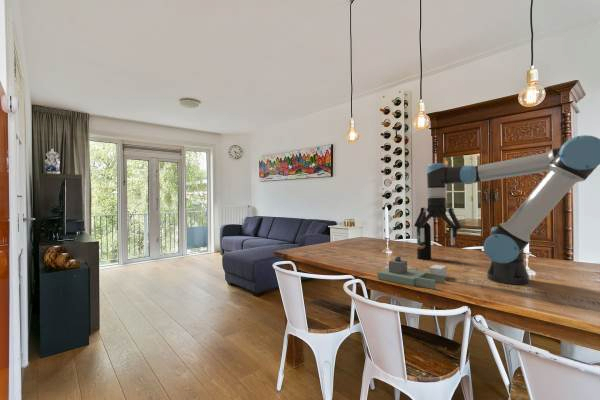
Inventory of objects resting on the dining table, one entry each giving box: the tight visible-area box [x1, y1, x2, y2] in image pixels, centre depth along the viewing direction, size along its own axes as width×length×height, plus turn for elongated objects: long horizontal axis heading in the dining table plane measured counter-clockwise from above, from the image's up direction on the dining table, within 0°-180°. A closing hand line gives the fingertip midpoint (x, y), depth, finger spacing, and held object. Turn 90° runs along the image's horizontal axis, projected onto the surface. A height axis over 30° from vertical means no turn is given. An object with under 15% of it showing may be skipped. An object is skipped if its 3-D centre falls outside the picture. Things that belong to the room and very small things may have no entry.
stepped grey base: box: [377, 255, 446, 290], centre depth 134 cm, size 25×14×10 cm, turn 45°
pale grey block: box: [428, 264, 447, 278], centre depth 138 cm, size 5×7×5 cm
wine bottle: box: [416, 211, 432, 261], centre depth 177 cm, size 8×8×30 cm
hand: (437, 243), depth 138 cm, fingers open, 13 cm apart
